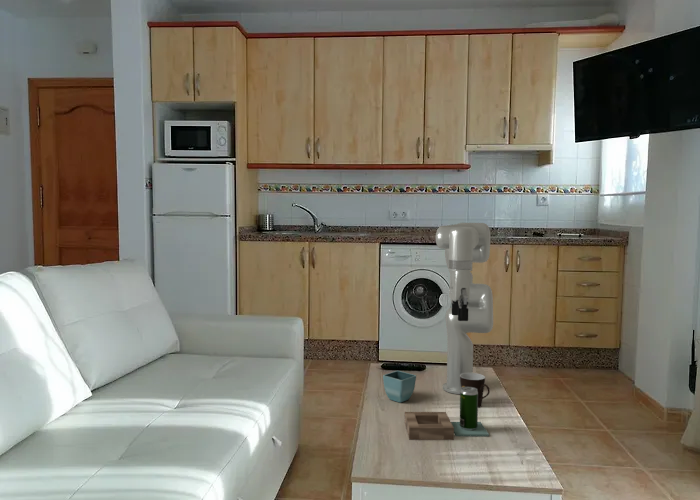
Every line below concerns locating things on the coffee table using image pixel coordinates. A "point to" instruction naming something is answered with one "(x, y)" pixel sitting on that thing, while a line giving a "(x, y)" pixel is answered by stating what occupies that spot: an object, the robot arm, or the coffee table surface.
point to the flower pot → (399, 385)
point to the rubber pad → (460, 432)
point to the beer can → (468, 408)
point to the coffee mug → (474, 384)
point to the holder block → (428, 426)
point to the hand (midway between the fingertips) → (459, 317)
